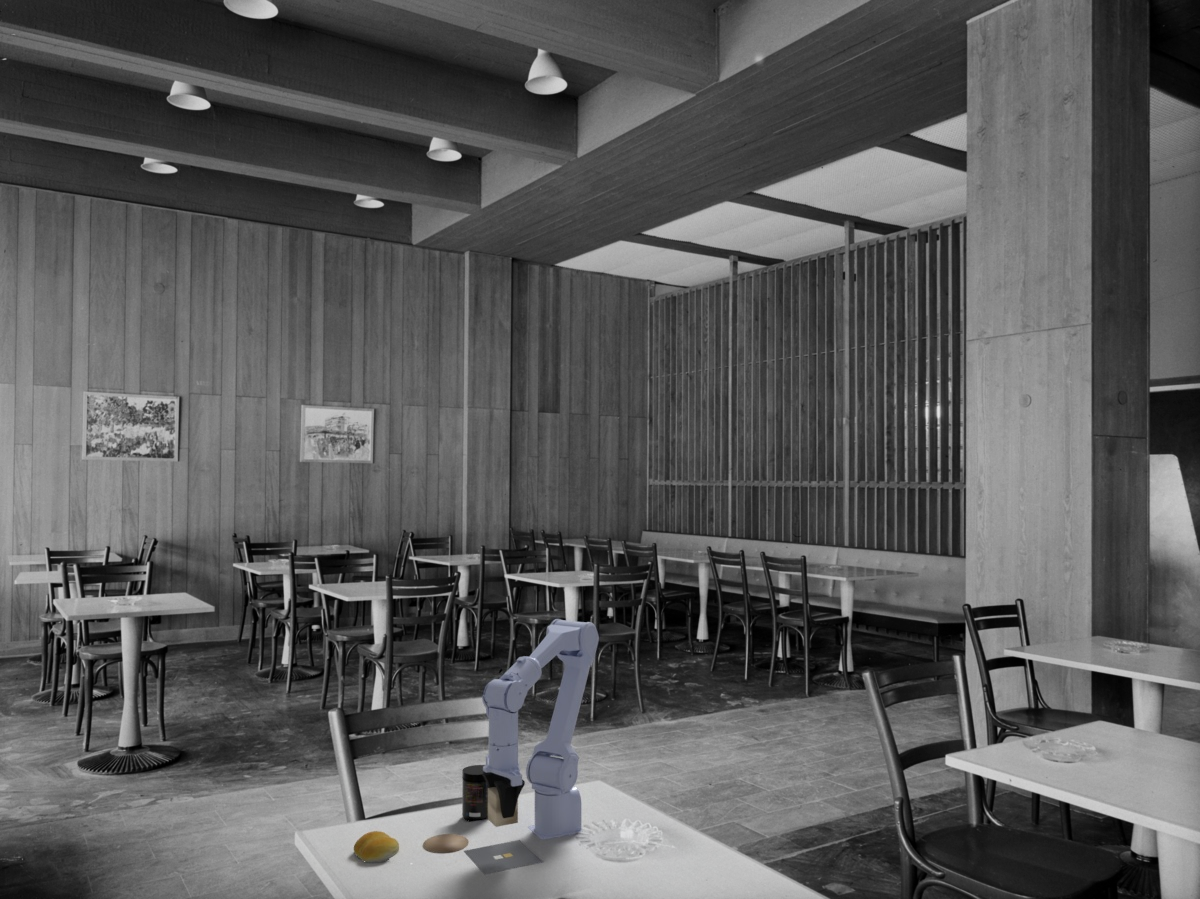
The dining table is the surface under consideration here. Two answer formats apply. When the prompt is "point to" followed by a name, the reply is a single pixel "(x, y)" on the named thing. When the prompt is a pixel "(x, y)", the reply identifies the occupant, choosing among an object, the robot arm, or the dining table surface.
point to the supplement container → (474, 794)
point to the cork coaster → (445, 843)
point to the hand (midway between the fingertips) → (503, 812)
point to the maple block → (498, 810)
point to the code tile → (503, 856)
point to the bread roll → (376, 847)
